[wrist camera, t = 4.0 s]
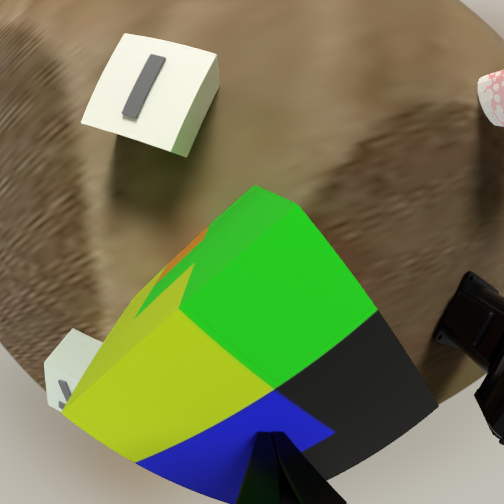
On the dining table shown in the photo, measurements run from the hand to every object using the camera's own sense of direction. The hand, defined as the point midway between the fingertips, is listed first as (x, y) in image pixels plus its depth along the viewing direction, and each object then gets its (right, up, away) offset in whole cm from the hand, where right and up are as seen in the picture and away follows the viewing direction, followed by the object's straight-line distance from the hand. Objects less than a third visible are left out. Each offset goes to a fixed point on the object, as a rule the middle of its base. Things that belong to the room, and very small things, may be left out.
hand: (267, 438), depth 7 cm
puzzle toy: (-1, +3, +10) cm, 10 cm away
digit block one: (-5, +14, +6) cm, 16 cm away
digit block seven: (-12, -2, +10) cm, 16 cm away
